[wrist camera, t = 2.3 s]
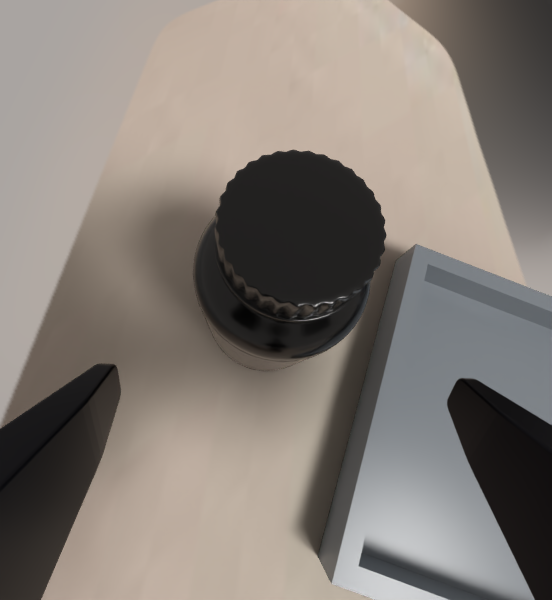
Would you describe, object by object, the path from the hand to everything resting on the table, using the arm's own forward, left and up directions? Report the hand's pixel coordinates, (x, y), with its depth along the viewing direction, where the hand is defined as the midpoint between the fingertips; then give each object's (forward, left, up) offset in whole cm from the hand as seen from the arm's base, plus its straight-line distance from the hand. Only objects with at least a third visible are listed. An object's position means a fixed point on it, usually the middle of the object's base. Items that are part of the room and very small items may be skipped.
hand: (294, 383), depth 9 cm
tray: (+2, -15, -11) cm, 18 cm away
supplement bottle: (+4, +1, -11) cm, 12 cm away
